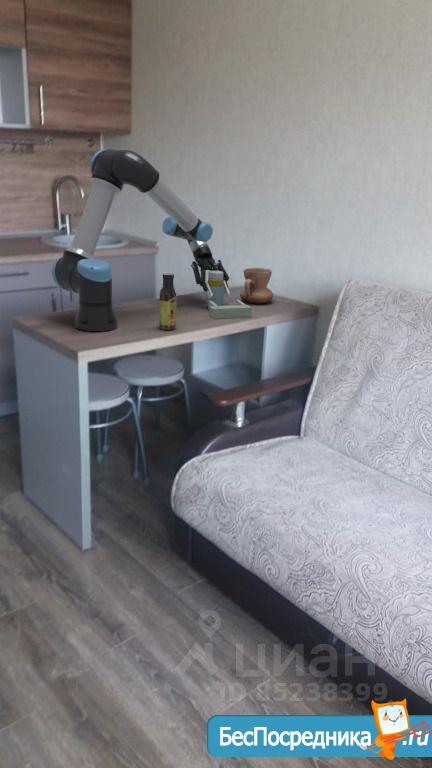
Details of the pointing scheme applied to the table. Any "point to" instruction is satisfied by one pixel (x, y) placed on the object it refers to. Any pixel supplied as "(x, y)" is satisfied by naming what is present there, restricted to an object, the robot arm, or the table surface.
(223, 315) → the green-backed grey tray
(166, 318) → the sauce bottle
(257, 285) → the ceramic jug
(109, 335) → the table surface
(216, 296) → the bottle
